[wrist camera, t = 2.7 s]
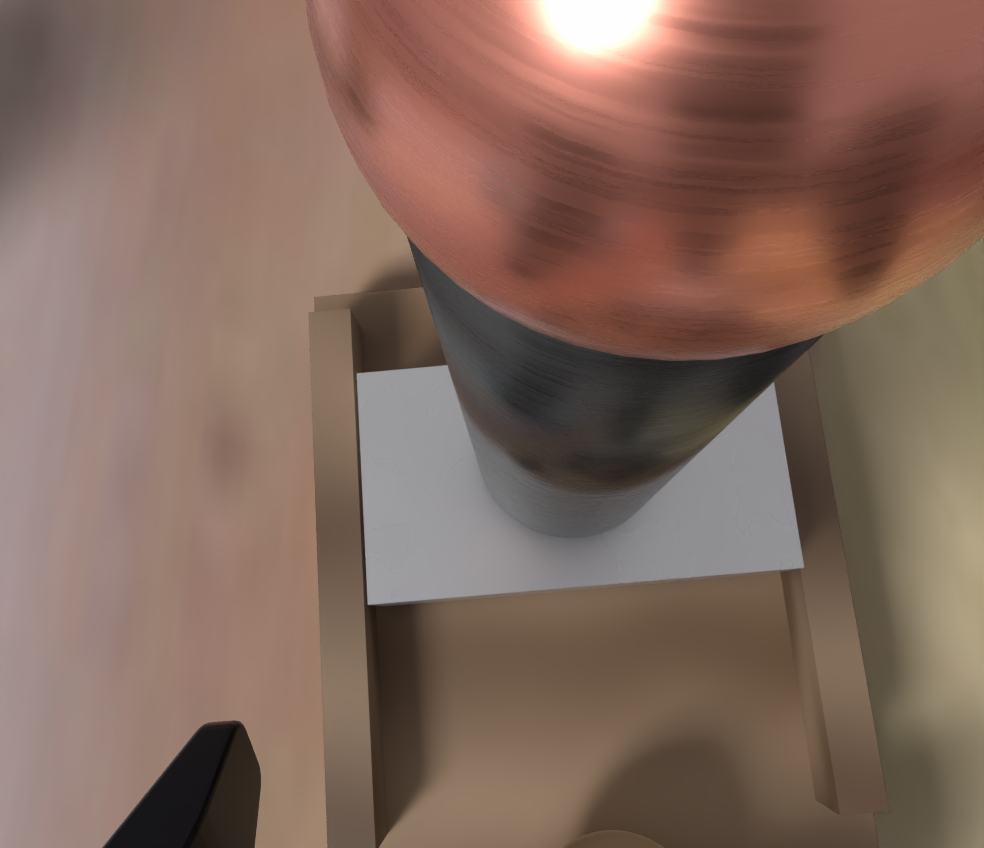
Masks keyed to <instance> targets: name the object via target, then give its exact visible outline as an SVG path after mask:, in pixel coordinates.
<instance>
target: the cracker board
mask: <svg viewBox="0 0 984 848" xmlns="http://www.w3.org/2000/svg"><path fill="white" fill-rule="evenodd" d="M314 303H315V312H309V334H310V362H311V391H312V419H313V447H314V476H315V504H316V532H317V561H318V589H319V617H320V646H321V674H322V702H323V731H324V759H325V787H326V816H327V844H328V848H879V845H878V839H877V833H876V827H875V821H874V816H873V813H881V812H889V807H888V801H887V796H886V790H885V784H884V778H883V773H882V767H881V761H880V755H879V750H878V744H877V738H876V733H875V727H874V721H873V715H872V710H871V704H870V698H869V692H868V687H867V681H866V675H865V670H864V664H863V658H862V652H861V647H860V641H859V635H858V629H857V624H856V618H855V612H854V607H853V601H852V595H851V589H850V584H849V578H848V572H847V566H846V561H845V555H844V549H843V543H842V538H841V532H840V526H839V521H838V515H837V509H836V503H835V498H834V492H833V486H832V480H831V475H830V469H829V463H828V458H827V452H826V446H825V440H824V435H823V429H822V423H821V417H820V412H819V406H818V400H817V395H816V389H815V383H814V377H813V372H812V366H811V360H810V354H809V349H808V350H807V351H806V352H805V353H804V354H803V355H802V356H801V357H800V358H799V359H798V360H796V361H795V362H794V363H793V364H792V365H791V366H790V367H789V368H788V369H787V370H786V371H785V372H784V373H783V374H782V375H781V376H780V377H779V378H777V379H776V380H775V381H774V386H775V392H776V398H777V404H778V410H779V416H780V422H781V428H782V435H783V441H784V447H785V453H786V459H787V465H788V471H789V477H790V484H791V490H792V496H793V502H794V508H795V514H796V520H797V526H798V533H799V539H800V545H801V551H802V557H803V563H804V568H800V569H794V570H789V571H783V572H777V573H772V574H761V575H749V576H737V577H725V578H714V579H702V580H690V581H678V582H667V583H655V584H643V585H631V586H619V587H608V588H596V589H584V590H572V591H561V592H549V593H537V594H525V595H513V596H502V597H490V598H478V599H466V600H455V601H443V602H431V603H419V604H407V605H396V606H376V605H368V599H367V578H366V557H365V536H364V516H363V495H362V474H361V453H360V432H359V411H358V391H357V373H367V372H378V371H389V370H400V369H411V368H422V367H433V366H444V365H447V363H446V359H445V356H444V353H443V350H442V346H441V343H440V340H439V337H438V334H437V330H436V327H435V324H434V321H433V318H432V314H431V311H430V308H429V305H428V302H427V298H426V295H425V292H424V289H423V287H418V288H407V289H397V290H386V291H375V292H364V293H353V294H342V295H332V296H321V297H314Z"/></svg>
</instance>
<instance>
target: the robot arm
mask: <svg viewBox="0 0 984 848" xmlns="http://www.w3.org/2000/svg"><path fill="white" fill-rule="evenodd" d="M260 789H261V773H260V767H259V763H258V761H257V758H256V755H255V753H254V750H253V747H252V745H251V742H250V739H249V737H248V734H247V732H246V729H245V727H244V725H243V724H242V723H241V722H239V721H222V722H211V723H207V724H205V725H203V726H202V727H200V728H199V729H198V730H197V731H196V733H195V734H194V735H193V736H192V737H191V739H190V740H189V741H188V742H187V744H186V745H185V746H184V747H183V749H182V750H181V751H180V752H179V754H178V755H177V756H176V757H175V759H174V760H173V761H172V762H171V763H170V765H169V766H168V767H167V768H166V770H165V771H164V772H163V773H162V775H161V776H160V777H159V778H158V780H157V781H156V782H155V783H154V785H153V786H152V787H151V788H150V789H149V791H148V792H147V793H146V794H145V796H144V797H143V798H142V799H141V801H140V802H139V803H138V804H137V806H136V807H135V808H134V809H133V810H132V812H131V813H130V814H129V815H128V817H127V818H126V819H125V820H124V822H123V823H122V824H121V825H120V827H119V828H118V829H117V830H116V832H115V833H114V834H113V835H112V836H111V838H110V839H109V840H108V841H107V843H106V844H105V845H104V846H103V848H254V847H255V838H256V828H257V818H258V809H259V799H260Z"/></svg>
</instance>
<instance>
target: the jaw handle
mask: <svg viewBox="0 0 984 848" xmlns="http://www.w3.org/2000/svg"><path fill="white" fill-rule="evenodd" d="M306 8H307V16H308V25H309V31H310V35H311V38H312V42H313V46H314V50H315V53H316V57H317V61H318V64H319V68H320V72H321V75H322V79H323V83H324V86H325V90H326V94H327V97H328V101H329V105H330V107H331V109H332V112H333V114H334V116H335V118H336V121H337V123H338V125H339V128H340V130H341V132H342V134H343V137H344V139H345V141H346V143H347V146H348V148H349V150H350V152H351V154H352V156H353V157H354V159H355V161H356V163H357V165H358V167H359V169H360V171H361V173H362V174H363V176H364V177H365V179H366V181H367V182H368V184H369V185H370V187H371V189H372V190H373V192H374V193H375V195H376V197H377V198H378V200H379V201H380V203H381V205H382V206H383V208H384V209H385V210H386V211H387V212H388V214H389V215H390V216H391V217H392V218H393V220H394V221H395V222H396V223H397V224H398V226H399V227H400V228H401V229H402V230H403V231H404V233H405V234H406V235H407V238H408V241H409V244H410V247H411V250H412V254H413V257H414V260H415V263H416V266H417V270H418V273H419V276H420V279H421V282H422V286H423V289H424V292H425V295H426V298H427V302H428V305H429V308H430V311H431V314H432V318H433V321H434V324H435V327H436V330H437V334H438V337H439V340H440V343H441V346H442V350H443V353H444V356H445V359H446V363H447V365H444V366H433V367H422V368H411V369H400V370H389V371H378V372H367V373H357V391H358V411H359V432H360V453H361V474H362V495H363V516H364V536H365V557H366V578H367V599H368V605H376V606H396V605H407V604H419V603H431V602H443V601H455V600H466V599H478V598H490V597H502V596H513V595H525V594H537V593H549V592H561V591H572V590H584V589H596V588H608V587H619V586H631V585H643V584H655V583H667V582H678V581H690V580H702V579H714V578H725V577H737V576H749V575H761V574H772V573H777V572H783V571H789V570H794V569H800V568H804V563H803V557H802V551H801V545H800V539H799V533H798V526H797V520H796V514H795V508H794V502H793V496H792V490H791V484H790V477H789V471H788V465H787V459H786V453H785V447H784V441H783V435H782V428H781V422H780V416H779V410H778V404H777V398H776V392H775V386H774V381H775V380H776V379H777V378H779V377H780V376H781V375H782V374H783V373H784V372H785V371H786V370H787V369H788V368H789V367H790V366H791V365H792V364H793V363H794V362H795V361H796V360H798V359H799V358H800V357H801V356H802V355H803V354H804V353H805V352H806V351H807V350H808V349H809V348H810V347H811V346H812V345H813V344H814V343H815V342H816V341H818V340H819V339H820V338H821V337H822V336H823V335H824V334H826V333H829V332H831V331H833V330H835V329H838V328H840V327H842V326H845V325H847V324H849V323H852V322H854V321H856V320H858V319H861V318H863V317H865V316H868V315H870V314H872V313H874V312H876V311H878V310H879V309H881V308H883V307H884V306H886V305H888V304H889V303H891V302H892V301H894V300H896V299H897V298H899V297H901V296H902V295H904V294H906V293H907V292H909V291H911V290H912V289H914V288H916V287H917V286H919V285H920V284H922V283H923V282H924V281H926V280H927V279H929V278H930V277H932V276H933V275H935V274H936V273H938V272H939V271H941V270H942V269H944V268H945V267H946V266H947V265H949V264H950V263H951V262H952V261H953V260H955V259H956V258H957V257H958V256H960V255H961V254H962V253H963V252H964V251H966V250H967V249H968V248H969V247H970V246H972V245H973V244H974V243H975V242H977V241H978V240H979V239H980V238H981V237H982V236H983V235H984V0H306Z"/></svg>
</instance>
